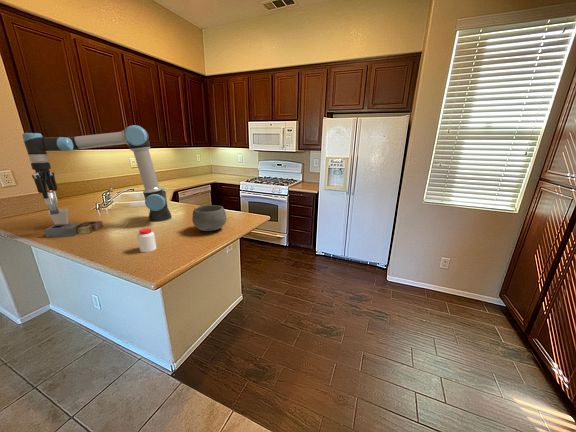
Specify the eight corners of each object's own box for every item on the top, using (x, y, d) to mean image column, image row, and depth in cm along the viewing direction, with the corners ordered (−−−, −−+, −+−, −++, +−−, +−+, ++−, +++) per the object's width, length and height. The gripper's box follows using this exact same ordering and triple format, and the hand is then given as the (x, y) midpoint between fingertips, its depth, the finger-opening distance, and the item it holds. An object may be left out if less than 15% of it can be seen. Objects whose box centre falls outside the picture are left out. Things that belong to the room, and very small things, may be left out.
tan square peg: (92, 231, 150) (91, 225, 149) (89, 233, 147) (87, 227, 145) (72, 232, 148) (70, 226, 146) (68, 234, 144) (66, 228, 143)
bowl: (233, 227, 161) (232, 206, 157) (211, 238, 143) (209, 214, 138) (209, 223, 169) (207, 202, 165) (186, 232, 151) (183, 209, 147)
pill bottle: (144, 246, 130) (141, 227, 127) (159, 246, 130) (156, 227, 127) (136, 252, 122) (133, 232, 119) (152, 252, 123) (149, 232, 120)
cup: (60, 229, 152) (55, 213, 149) (48, 228, 154) (43, 212, 151) (76, 224, 162) (72, 209, 159) (64, 223, 164) (60, 208, 160)
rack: (103, 226, 159) (101, 220, 158) (96, 230, 151) (95, 224, 150) (85, 227, 157) (84, 221, 156) (78, 231, 149) (76, 225, 148)
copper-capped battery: (61, 212, 143) (54, 189, 139) (56, 214, 140) (49, 191, 136) (53, 212, 143) (46, 189, 138) (48, 214, 139) (41, 191, 135)
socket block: (83, 230, 152) (82, 223, 150) (74, 236, 142) (72, 228, 141) (58, 231, 149) (56, 224, 147) (46, 237, 139) (44, 229, 138)
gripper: (43, 161, 139) (54, 199, 146) (18, 163, 124) (32, 206, 130) (58, 161, 141) (68, 199, 148) (36, 163, 125) (48, 206, 132)
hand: (51, 202), depth 139 cm, fingers closed on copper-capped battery, 4 cm apart
